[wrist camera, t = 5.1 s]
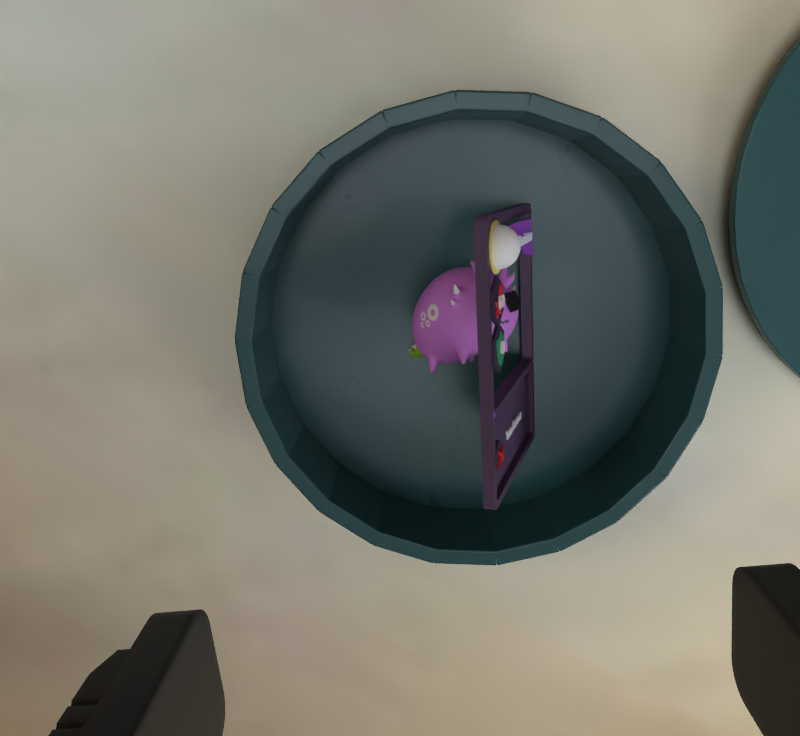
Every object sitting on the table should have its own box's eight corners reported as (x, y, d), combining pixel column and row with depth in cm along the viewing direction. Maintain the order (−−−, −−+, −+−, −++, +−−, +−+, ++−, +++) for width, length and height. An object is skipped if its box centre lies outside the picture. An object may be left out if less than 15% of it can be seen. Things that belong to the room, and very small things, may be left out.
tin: (293, 538, 30) (277, 586, 27) (224, 128, 26) (195, 121, 22) (685, 501, 29) (722, 545, 26) (680, 73, 25) (724, 57, 22)
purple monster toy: (519, 515, 22) (512, 215, 20) (363, 498, 24) (340, 222, 22) (553, 438, 28) (551, 201, 26) (426, 429, 30) (414, 208, 28)
